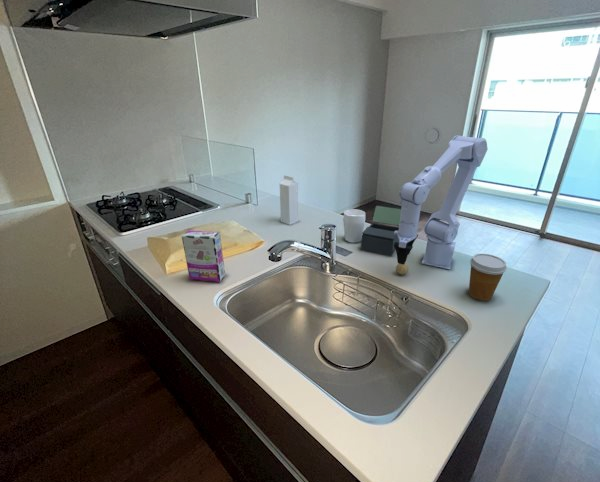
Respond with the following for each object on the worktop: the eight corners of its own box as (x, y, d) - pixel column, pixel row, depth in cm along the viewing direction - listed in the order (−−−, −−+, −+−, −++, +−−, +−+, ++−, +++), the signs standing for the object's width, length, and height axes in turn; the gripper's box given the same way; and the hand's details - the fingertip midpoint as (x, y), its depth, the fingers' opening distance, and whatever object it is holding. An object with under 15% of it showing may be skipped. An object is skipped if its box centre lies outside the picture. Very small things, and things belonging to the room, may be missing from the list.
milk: (289, 225, 151) (288, 179, 141) (280, 221, 155) (278, 176, 145) (298, 221, 155) (297, 176, 145) (289, 218, 159) (288, 174, 149)
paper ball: (408, 272, 111) (410, 262, 109) (406, 277, 108) (407, 267, 106) (396, 269, 113) (398, 259, 111) (394, 275, 109) (395, 264, 108)
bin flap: (372, 221, 134) (372, 221, 135) (401, 225, 129) (401, 226, 130) (376, 205, 135) (376, 206, 136) (405, 209, 130) (405, 210, 131)
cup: (357, 246, 130) (359, 218, 125) (338, 240, 135) (339, 213, 130) (367, 238, 136) (369, 211, 131) (348, 233, 141) (350, 207, 136)
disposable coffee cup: (460, 298, 97) (469, 263, 92) (464, 283, 104) (472, 250, 99) (496, 307, 92) (507, 271, 87) (498, 291, 100) (508, 257, 95)
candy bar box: (226, 275, 110) (220, 231, 103) (220, 282, 106) (214, 237, 99) (195, 272, 112) (188, 229, 105) (188, 280, 108) (180, 235, 101)
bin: (370, 236, 138) (372, 220, 135) (399, 242, 133) (401, 225, 130) (360, 250, 127) (362, 232, 123) (391, 256, 121) (393, 238, 118)
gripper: (401, 211, 109) (396, 247, 115) (391, 226, 98) (386, 265, 103) (422, 215, 106) (416, 251, 112) (415, 230, 95) (408, 270, 101)
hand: (403, 258), depth 108 cm, fingers open, 7 cm apart
